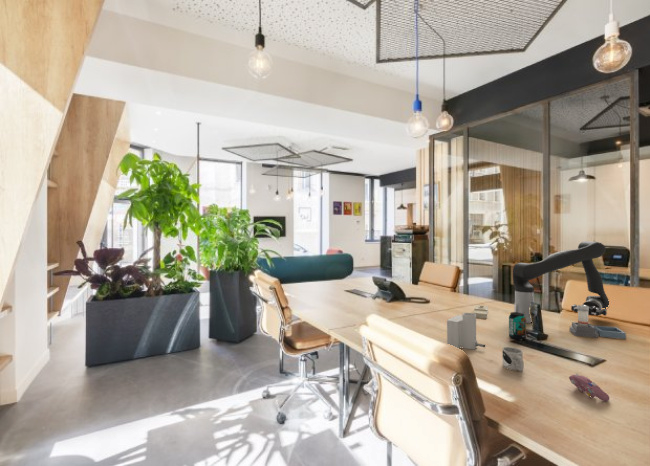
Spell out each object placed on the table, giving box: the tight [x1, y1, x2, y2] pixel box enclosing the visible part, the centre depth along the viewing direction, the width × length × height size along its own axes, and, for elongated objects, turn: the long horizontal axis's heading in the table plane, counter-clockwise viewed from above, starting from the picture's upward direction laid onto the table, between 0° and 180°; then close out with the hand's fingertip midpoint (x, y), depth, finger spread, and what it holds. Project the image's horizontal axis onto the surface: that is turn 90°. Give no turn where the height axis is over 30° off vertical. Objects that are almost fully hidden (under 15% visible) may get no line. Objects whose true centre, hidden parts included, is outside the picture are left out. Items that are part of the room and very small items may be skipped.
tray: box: [592, 325, 627, 340], centre depth 157 cm, size 10×10×3 cm
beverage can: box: [508, 311, 527, 341], centre depth 154 cm, size 7×7×12 cm
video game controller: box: [568, 373, 610, 402], centre depth 102 cm, size 10×5×7 cm, turn 5°
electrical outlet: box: [473, 304, 489, 319], centre depth 197 cm, size 7×4×18 cm
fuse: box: [576, 304, 590, 327], centre depth 159 cm, size 4×4×12 cm
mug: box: [502, 346, 525, 372], centre depth 121 cm, size 10×7×7 cm
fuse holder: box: [569, 321, 599, 339], centre depth 159 cm, size 9×9×4 cm
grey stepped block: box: [446, 312, 486, 350], centre depth 144 cm, size 12×14×15 cm
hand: (586, 312), depth 164 cm, fingers open, 8 cm apart
